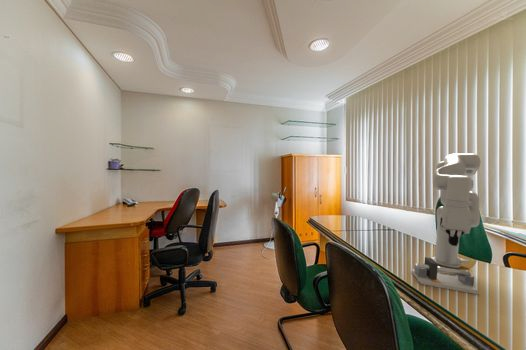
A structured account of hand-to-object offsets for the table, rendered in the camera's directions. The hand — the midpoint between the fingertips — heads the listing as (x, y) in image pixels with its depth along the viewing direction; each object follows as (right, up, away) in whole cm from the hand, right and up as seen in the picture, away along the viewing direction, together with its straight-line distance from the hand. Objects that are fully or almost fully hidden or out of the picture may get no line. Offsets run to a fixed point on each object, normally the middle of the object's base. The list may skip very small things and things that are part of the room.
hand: (453, 244), depth 97 cm
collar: (-9, -15, +2) cm, 17 cm away
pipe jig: (-4, -17, +1) cm, 18 cm away
